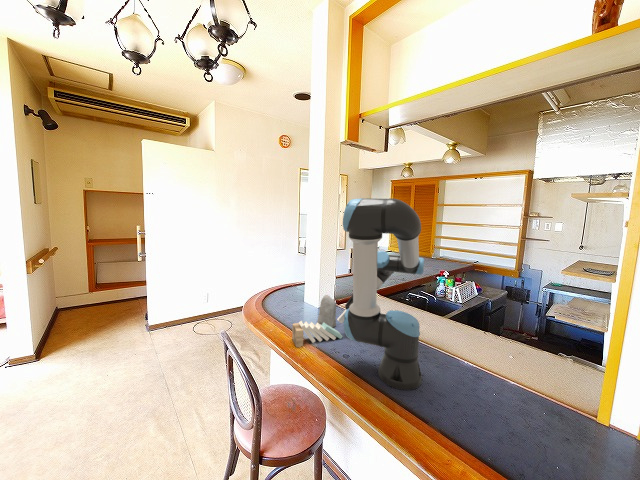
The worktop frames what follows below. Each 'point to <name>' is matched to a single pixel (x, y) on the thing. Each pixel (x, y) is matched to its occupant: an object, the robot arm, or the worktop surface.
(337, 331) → the domino
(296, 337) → the end block
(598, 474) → the worktop surface
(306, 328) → the domino
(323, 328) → the domino
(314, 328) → the domino
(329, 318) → the decorative stone
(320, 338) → the domino
